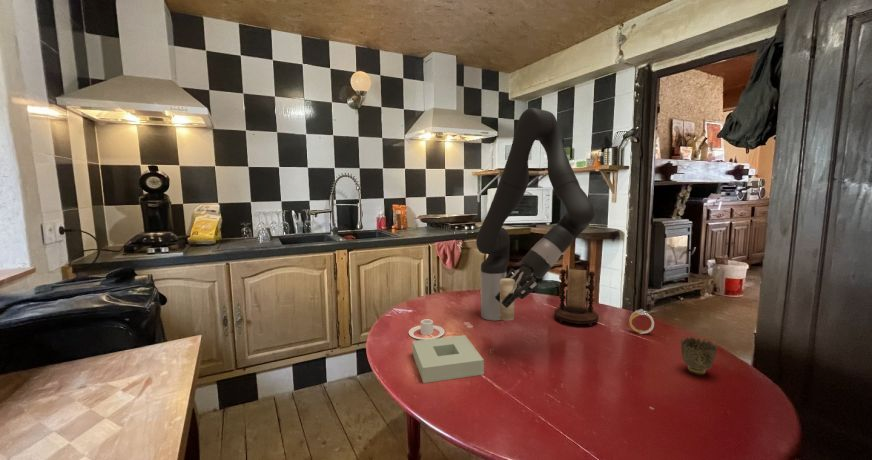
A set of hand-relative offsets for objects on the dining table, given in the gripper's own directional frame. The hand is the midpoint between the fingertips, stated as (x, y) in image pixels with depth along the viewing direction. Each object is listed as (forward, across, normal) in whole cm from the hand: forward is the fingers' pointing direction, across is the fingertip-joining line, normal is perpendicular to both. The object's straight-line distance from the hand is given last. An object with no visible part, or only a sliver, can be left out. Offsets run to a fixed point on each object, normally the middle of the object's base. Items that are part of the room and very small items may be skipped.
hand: (500, 302), depth 102 cm
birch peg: (+2, 0, +5) cm, 5 cm away
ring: (-24, -2, +47) cm, 53 cm away
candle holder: (+24, -22, 0) cm, 32 cm away
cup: (-21, +22, +43) cm, 52 cm away
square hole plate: (+23, 0, 0) cm, 23 cm away
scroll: (-15, -18, +38) cm, 45 cm away
